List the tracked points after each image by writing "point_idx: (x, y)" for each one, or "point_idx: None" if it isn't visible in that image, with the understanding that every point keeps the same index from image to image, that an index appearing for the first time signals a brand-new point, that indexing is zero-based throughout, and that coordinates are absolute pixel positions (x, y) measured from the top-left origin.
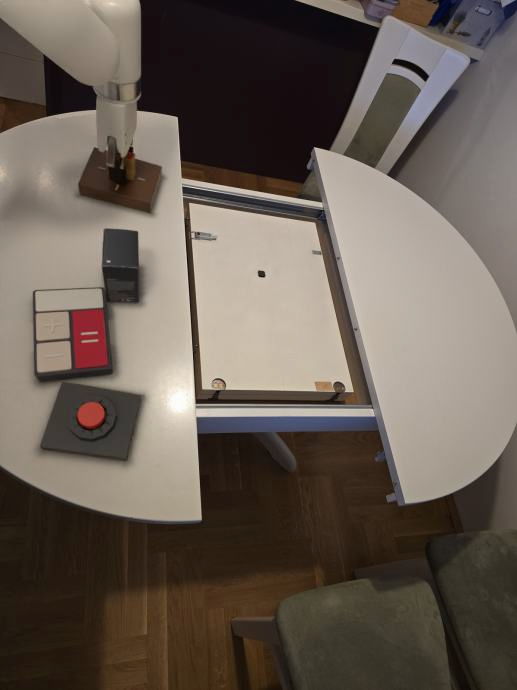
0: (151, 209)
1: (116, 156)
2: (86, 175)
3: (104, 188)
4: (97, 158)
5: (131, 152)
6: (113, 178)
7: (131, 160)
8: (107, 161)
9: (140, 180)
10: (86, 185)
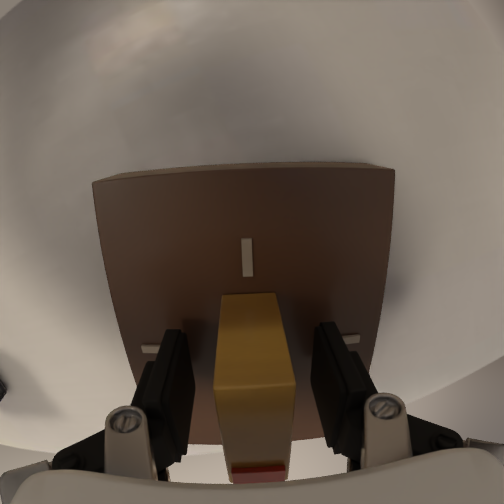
0: None
1: (220, 432)
2: (162, 198)
3: (124, 302)
4: (316, 210)
5: (283, 477)
6: (147, 365)
7: (229, 478)
8: (3, 497)
9: None
10: (97, 224)
